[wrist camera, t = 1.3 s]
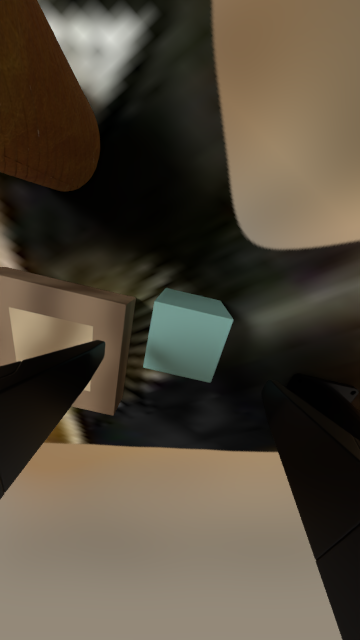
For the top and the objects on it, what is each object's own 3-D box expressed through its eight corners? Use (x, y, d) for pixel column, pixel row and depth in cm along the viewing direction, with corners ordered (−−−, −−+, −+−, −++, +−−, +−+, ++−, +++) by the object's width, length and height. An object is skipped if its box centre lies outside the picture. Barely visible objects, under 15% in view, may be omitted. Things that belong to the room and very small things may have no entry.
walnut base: (135, 297, 15) (126, 304, 13) (122, 396, 20) (113, 415, 17) (5, 267, 15) (-29, 268, 13) (20, 373, 19) (-4, 389, 17)
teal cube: (220, 300, 15) (233, 319, 10) (205, 348, 17) (210, 382, 12) (166, 287, 15) (154, 301, 10) (156, 336, 17) (143, 367, 12)
